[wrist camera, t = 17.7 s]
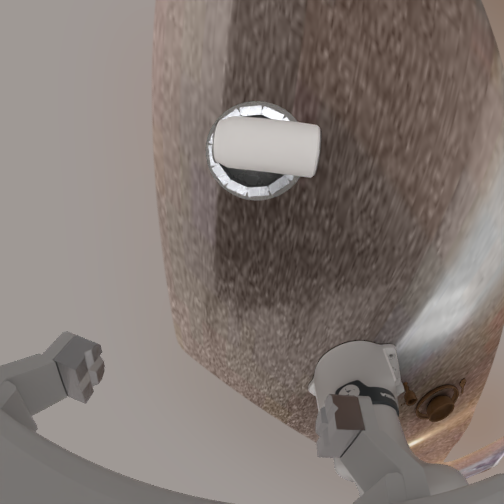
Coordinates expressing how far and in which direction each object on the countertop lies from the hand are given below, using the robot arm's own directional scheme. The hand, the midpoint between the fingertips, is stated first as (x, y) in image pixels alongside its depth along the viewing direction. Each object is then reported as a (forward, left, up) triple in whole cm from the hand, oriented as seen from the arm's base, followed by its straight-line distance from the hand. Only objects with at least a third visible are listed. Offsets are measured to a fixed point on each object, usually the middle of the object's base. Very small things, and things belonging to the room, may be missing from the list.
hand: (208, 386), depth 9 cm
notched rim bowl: (+6, -3, -35) cm, 36 cm away
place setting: (-58, -9, -36) cm, 69 cm away
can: (+2, -9, -29) cm, 30 cm away
